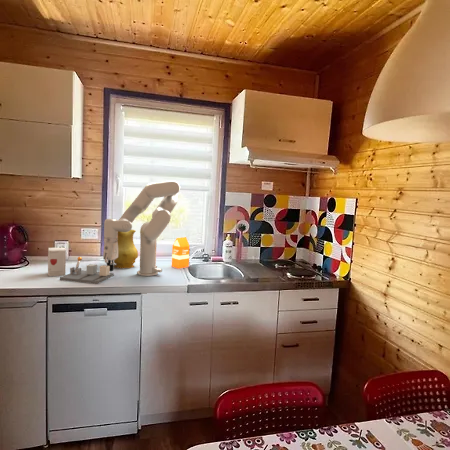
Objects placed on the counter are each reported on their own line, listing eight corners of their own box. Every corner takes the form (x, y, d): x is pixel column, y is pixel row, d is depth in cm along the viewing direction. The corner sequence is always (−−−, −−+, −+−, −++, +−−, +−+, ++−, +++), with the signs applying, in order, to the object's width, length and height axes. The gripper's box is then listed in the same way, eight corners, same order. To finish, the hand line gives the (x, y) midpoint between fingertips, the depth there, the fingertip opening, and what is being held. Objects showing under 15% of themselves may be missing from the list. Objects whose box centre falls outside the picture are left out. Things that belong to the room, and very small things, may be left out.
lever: (78, 273, 195) (83, 257, 199) (76, 272, 193) (81, 256, 197) (74, 272, 195) (79, 257, 199) (72, 271, 193) (77, 255, 197)
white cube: (96, 273, 198) (96, 264, 197) (92, 274, 194) (93, 266, 193) (90, 272, 198) (90, 264, 198) (86, 274, 195) (86, 265, 194)
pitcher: (121, 270, 213) (122, 230, 212) (103, 266, 224) (104, 228, 223) (143, 267, 227) (144, 229, 226) (125, 263, 238) (126, 227, 237)
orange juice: (171, 266, 233) (172, 237, 231) (181, 264, 239) (182, 236, 237) (179, 268, 228) (180, 238, 226) (188, 266, 234) (190, 237, 232)
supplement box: (47, 276, 192) (48, 250, 190) (47, 272, 199) (47, 247, 198) (65, 275, 196) (66, 249, 194) (65, 271, 204) (65, 247, 202)
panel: (113, 275, 201) (113, 267, 200) (97, 284, 183) (97, 274, 182) (79, 272, 204) (79, 264, 204) (60, 280, 186) (60, 271, 186)
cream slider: (109, 274, 197) (109, 265, 196) (106, 276, 193) (106, 267, 192) (103, 273, 197) (103, 265, 197) (99, 275, 193) (99, 266, 193)
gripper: (110, 242, 191) (109, 274, 193) (122, 238, 206) (121, 268, 208) (98, 241, 193) (97, 273, 195) (111, 237, 207) (110, 267, 209)
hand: (110, 270), depth 201 cm, fingers closed
